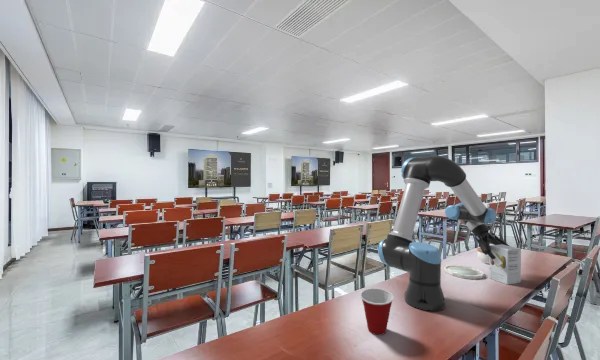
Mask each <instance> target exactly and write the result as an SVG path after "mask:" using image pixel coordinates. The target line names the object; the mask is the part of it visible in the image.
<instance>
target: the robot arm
mask: <svg viewBox="0 0 600 360" xmlns="http://www.w3.org/2000/svg"><path fill="white" fill-rule="evenodd" d="M400 171H401V177H402V178H403V183H404V185H405V186H404V190H403V192H402V197H401V200H400V205H399V207H398V211H397V214H396V218H395V222H394V225H393V227H392V231H391V232H389V233H388V234H387V237H386V238H383V239H382V240H381V241H380V242H379V244H378V247H377V253H378V257H379V260H380V261H381V263H382V264H384V265H386V266H388V267H391V268H394V269H398V270H400V271H403V272H406V273H408V277H409V278H408V279H409V281H408V284H407V287H406V291H405V292H404V301H405V303H406V304H407V305H409V306H411V307H413V308H415V307H416V309H418V308H419V310H422V309H423V311H427V310H430V311H429V312H436V310H439V311H442V310H441V309H443V308H444V309H445V308H446V299H445V295H444V292H443V289H442V287H441V286H442V285H441V283H442V282H441V281H442V280H441V279H442V278H441V276H442V273H441V272H442V268H441V267H442V266H441V265H442V257H441V256H442V255H441V251H440V249H439V248H438V247H437V246H435V245H432V244H429V243H427V242H421V241H414V240H413V234H414V230H415V226H416V223H417V220H418V216H419V212H420V208H421V204H422V201H423V196H424V193H425V190H426V189H428V188H430V184H431V183H432V182H440V183H442V184H444V185H445V186H446V187H448V188H450V189H451V191H452V192H453V193H454V195H455V196H456V197H457V198H458V199H459V201H460V202H459V203H457V204H452V205H451V204H449V205H448V206H447V207H446V208H445V209H444V215H445V216H446V218H448V219H450V220H457V221H461V222H463V224H465V225H466V227H467V229H468V230H470V231H471V233H472V234H473V235H474V236H475V237H474V239H475V240H476V241H477V244H478V246H479V248H481V250H482V252H483V253H484V254H485V255H487V254H488V255H489V256H490V258H491V259H492V260H493V261H494V262H495V263H496V265H497V266H500V265H501V264H503V262H502V261H501V260H500V259H499V258H498V257H497V256H496V254H495V253H494V252H493V251H492V252H491V248H490V245H501V244H503V245H507V246H510V244H508V243H507V242H505V241H504V240H503V239H501V238H500V237H498V235H497V234H496V233H494V232H492V233H490V229H489V227H487V225H486V224H491V225H493V224H494V223H495V222H496V219H497V211H496V210H495V209H494V208H490V207H487V206H486V205H485V204H484V203H483V201H482V199H481V198H480V197H479V196H478V194H477V192H476V191H475V189H474V187H473V186H472V185H471V184H470V182H469V181H468V180H467V174H466V172H465V171H464V169H463V168H462V167H461V166H460V165H459V164H458V163H456V162H455V161H453V160H452V159H450V158H448V157H445V156H443V155H442V156H441V155H434V156H433V155H429V156H415V157H409V158H407V159H406V160H405V161H404V162H403V163H402V166H401V170H400ZM484 249H485V250H484ZM444 309H443V310H444Z"/></svg>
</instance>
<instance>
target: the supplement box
mask: <svg viewBox="0 0 600 360" xmlns="http://www.w3.org/2000/svg"><path fill="white" fill-rule="evenodd" d="M490 248H491V252H492V251H493V252H494V253H495V254H496V256H497V257H498V258H499V259H500V260H501V261H502V262H503V264H501V265H500V266H497V265H496V263H495V262H494V261H493V260H492V259H491V258H490V264H488V266H489V267H488V269H489V270H488V271H489V275H488V277H489V279H491V280H493V281H495V282H496V281H497V282H499V283H502V284H505V285H513V284H521V282H522V281H521V280H522V279H521V278H522V277H521V276H522V274H521V273H522V271H521V270H522V267H521V266H522V249H521V248H519V247H515V246H510V245H509V246H507V245H503V244H501V245H495V244H490Z"/></svg>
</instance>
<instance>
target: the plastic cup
mask: <svg viewBox="0 0 600 360" xmlns="http://www.w3.org/2000/svg"><path fill="white" fill-rule="evenodd" d="M359 294H360V295H359V296H360V299H361V301H362V304H363V309H364V314H365V320H366V325H367V330H368V331H369V332H370V333H371V332H372V333H371V334H373V333H375V334H374V335H377V334H381V335H384V334H385V333H386V332H387V329H388V323H389V320H390V313H391V307H392V303H393V300H394V298H395V297H394V294H393V293H392V292H390V291H388V290H386V289H383V288H380V287H379V288H376V287H374V288H373V287H372V288H366V289H364V290H362V291H361V292H360V293H359ZM385 331H386V332H385ZM383 333H384V334H383Z"/></svg>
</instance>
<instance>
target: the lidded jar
mask: <svg viewBox="0 0 600 360" xmlns="http://www.w3.org/2000/svg"><path fill="white" fill-rule="evenodd" d="M476 249H477V250H476V251H477V252H476V253H477V254H476V255H477V258H478V259H479V260H480V262H481V263H483V264H486V265H490V256H489V255H488V254H487V255H485V254H484V253H483V252H482V250H481V248H480V247H477V248H476ZM484 250H485V249H484Z"/></svg>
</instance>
